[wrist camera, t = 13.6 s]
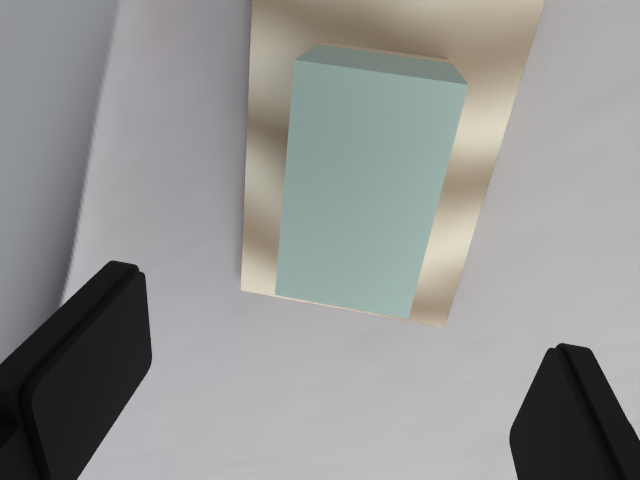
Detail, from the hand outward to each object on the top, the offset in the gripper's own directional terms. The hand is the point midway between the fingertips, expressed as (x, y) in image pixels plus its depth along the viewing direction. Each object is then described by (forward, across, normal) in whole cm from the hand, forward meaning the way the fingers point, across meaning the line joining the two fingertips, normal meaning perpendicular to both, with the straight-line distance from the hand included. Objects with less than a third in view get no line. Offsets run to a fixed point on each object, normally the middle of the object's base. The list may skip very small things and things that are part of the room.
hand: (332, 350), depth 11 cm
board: (+17, 0, 0) cm, 17 cm away
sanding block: (+16, 0, 0) cm, 16 cm away
